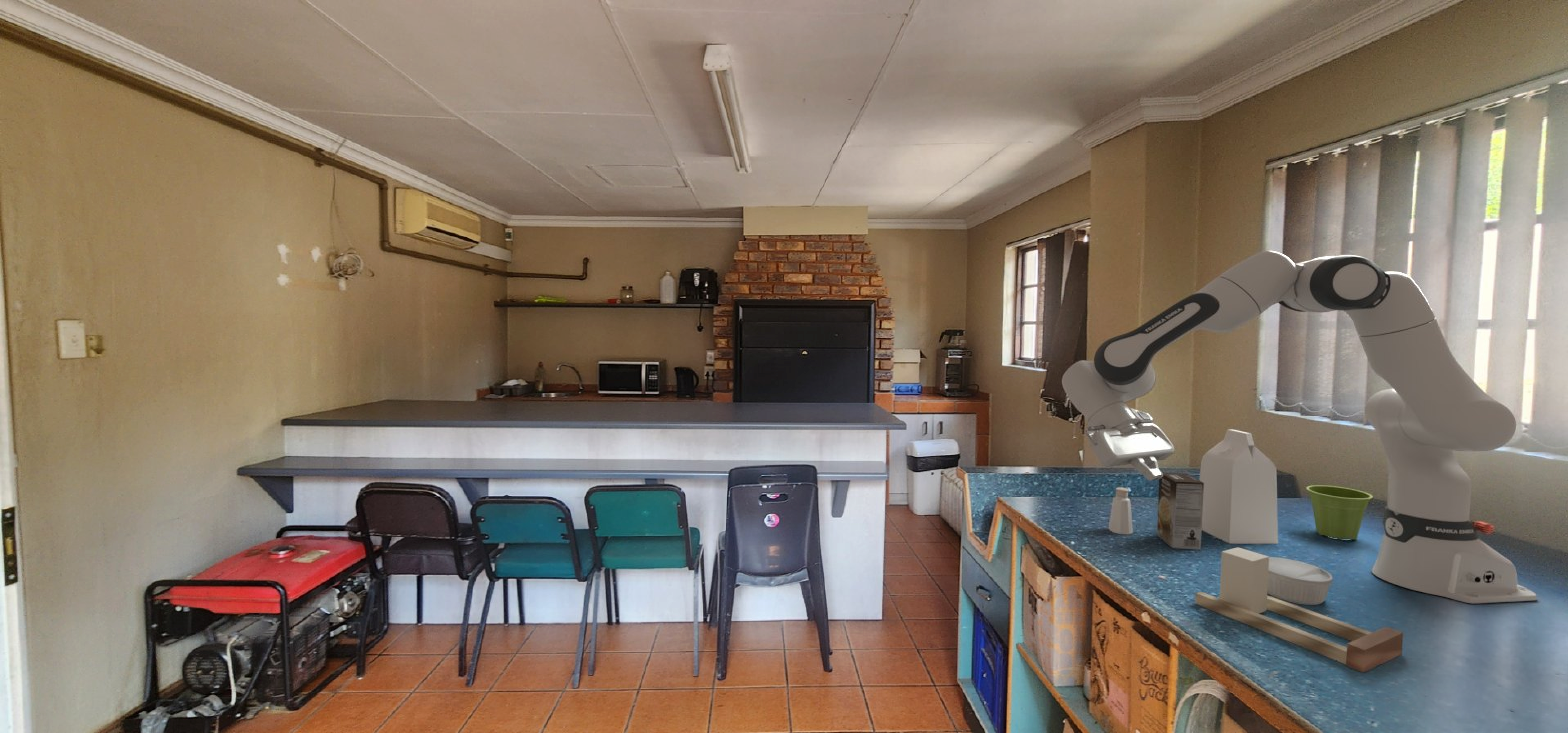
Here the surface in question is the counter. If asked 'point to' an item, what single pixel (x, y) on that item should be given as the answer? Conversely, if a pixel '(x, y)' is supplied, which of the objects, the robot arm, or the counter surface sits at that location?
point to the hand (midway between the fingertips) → (1156, 478)
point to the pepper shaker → (1121, 513)
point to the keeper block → (1244, 579)
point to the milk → (1239, 492)
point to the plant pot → (1338, 510)
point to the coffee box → (1180, 510)
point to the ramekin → (1297, 581)
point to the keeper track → (1357, 655)
